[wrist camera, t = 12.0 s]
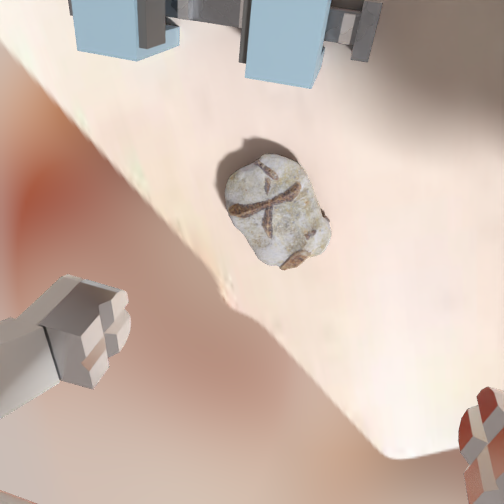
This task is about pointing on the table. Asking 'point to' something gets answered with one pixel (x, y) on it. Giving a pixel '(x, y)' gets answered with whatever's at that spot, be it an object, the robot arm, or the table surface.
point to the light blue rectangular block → (283, 40)
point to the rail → (337, 30)
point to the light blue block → (123, 28)
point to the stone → (277, 211)
